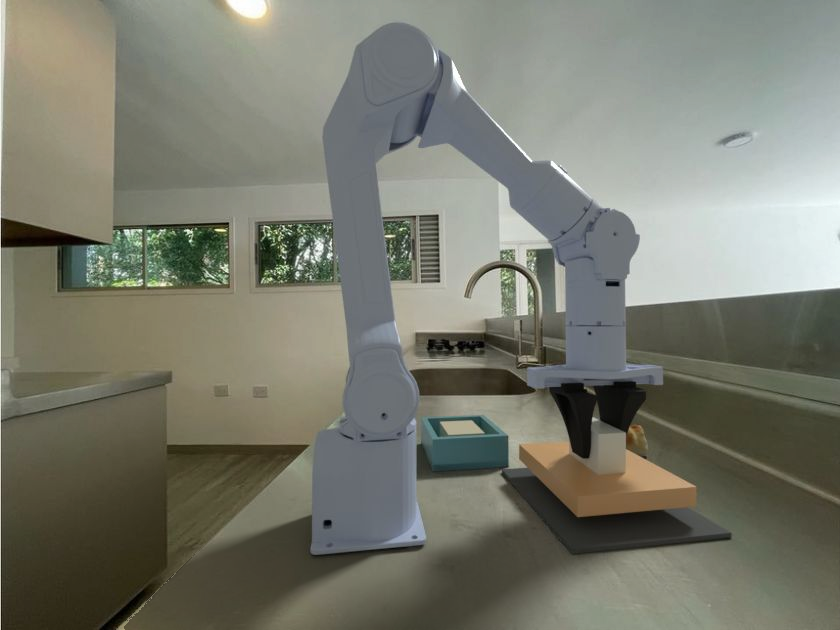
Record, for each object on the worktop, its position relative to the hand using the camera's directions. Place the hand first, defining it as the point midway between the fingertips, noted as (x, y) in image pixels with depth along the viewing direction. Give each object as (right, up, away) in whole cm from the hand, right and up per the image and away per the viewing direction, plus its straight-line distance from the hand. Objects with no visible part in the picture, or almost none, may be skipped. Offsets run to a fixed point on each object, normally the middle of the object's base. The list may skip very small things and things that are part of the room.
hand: (596, 453), depth 36 cm
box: (-13, -5, +12) cm, 18 cm away
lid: (0, -2, 0) cm, 2 cm away
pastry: (+10, -6, +15) cm, 19 cm away
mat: (0, -5, 0) cm, 5 cm away
